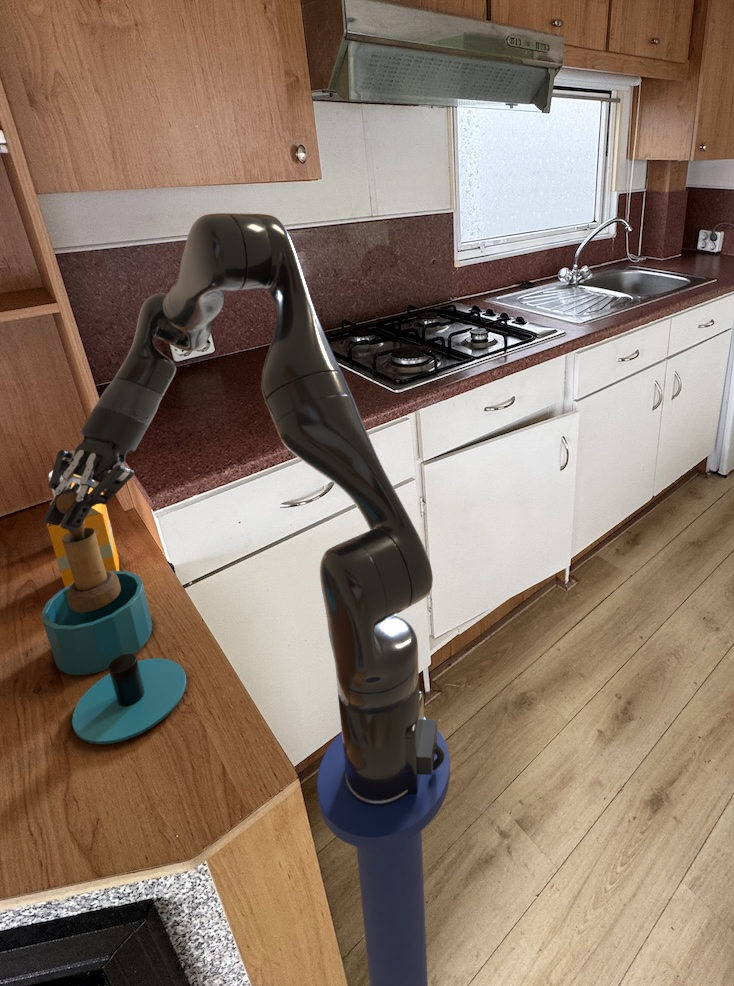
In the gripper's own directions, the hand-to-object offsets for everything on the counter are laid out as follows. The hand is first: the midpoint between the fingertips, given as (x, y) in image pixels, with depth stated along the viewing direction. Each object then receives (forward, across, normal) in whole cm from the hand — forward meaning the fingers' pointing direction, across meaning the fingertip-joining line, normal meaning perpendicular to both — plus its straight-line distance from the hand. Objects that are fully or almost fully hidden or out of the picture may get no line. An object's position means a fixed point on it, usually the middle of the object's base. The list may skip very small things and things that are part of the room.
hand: (59, 525), depth 81 cm
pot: (+15, 0, -17) cm, 23 cm away
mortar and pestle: (+9, 0, -11) cm, 14 cm away
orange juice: (+8, +16, -24) cm, 30 cm away
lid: (+18, -14, -12) cm, 26 cm away
